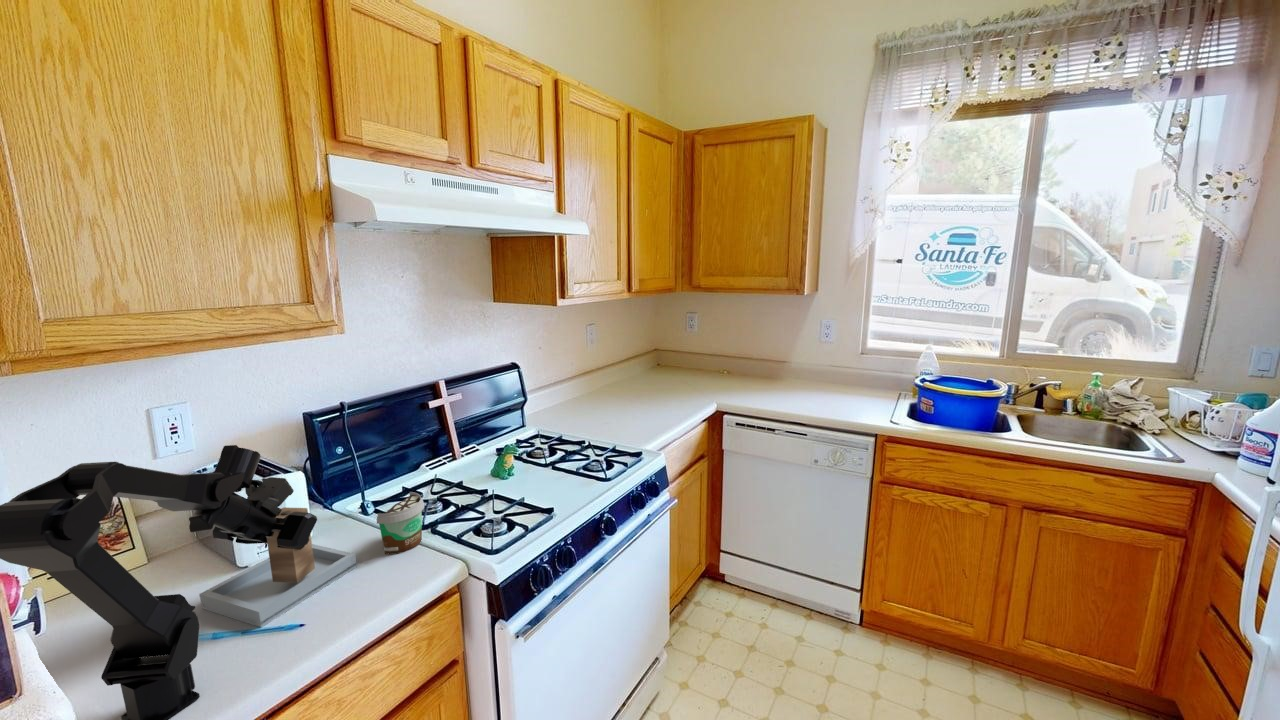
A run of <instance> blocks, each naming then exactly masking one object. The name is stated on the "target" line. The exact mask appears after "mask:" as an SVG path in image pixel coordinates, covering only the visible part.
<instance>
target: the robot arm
mask: <svg viewBox="0 0 1280 720" xmlns="http://www.w3.org/2000/svg"><path fill="white" fill-rule="evenodd" d="M261 457H262V456H261V454H260V452H259V451H255V450H252V449H249V448H245V447H239V446H238V445H237V444H231V445H230V444H229V445H224V446H223V448H222V450H221V453H220V457H219V458H218V461H217V463H216V466H215V469H214V472H206V473H205V472H204V473H190V474H189V473H187V474H186V473H185V474H179V473H173V472H167V471H161V470H155V469H150V468H143V467H138V466H134V465H133V466H132V465H127V464H124V463H120V462H119V461H101V462H84V463H83V462H82V463H79V464H77V465H73V466H71V467H69V468H68V469H66V470H65V471H64V472H62V473H60V475H58V476H57V477H54V478H52V479H49V480H47V481H44V482H43V483H41V484H39V485H36V486H35V487H32V488H30V489H28V490H25V491H23V492H21V493H19V494H18V495H16V496H15V497H13V498H12V499H10V500H9V501H8V502H4V503H2V504H0V560H2V561H5V562H7V563H9V564H13V565H17V566H22V567H26V568H30V569H35V570H40V571H42V572H45V573H47V574H48V575H49V576H50V577H51V578H53V579H54V580H55V581H56V582H57V583H59V584H60V585H61V586H62V587H63V588H65V589H66V590H67V591H69V592H70V593H71V594H72V595H74V596H75V597H76V598H77V599H78V600H79V601H81V602H82V603H83V604H85V605H86V606H87V607H88V608H89V609H91V610H92V612H94V613H96V614H97V615H98V616H99V617H100V618H101V619H103V620H104V621H106V623H108V624H109V625H110V626H112V632H111V636H110V640H109V641H110V644H112V646H113V648H112V651H111V653H110V654H109V657H108V659H107V662H106V665H105V667H104V669H103V671H102V674H101V677H100V678H101V680H102V681H103V682H104V684H105V685H107V686H113V685H120V688H121V693H122V697H123V702H124V707H125V710H126V711H125V712H124V713H123V714H122V715H120V719H121V720H169V719H170V718H172V717H173V716H175V715H176V714H178V713H179V712H181V711H182V710H184V709H185V708H186V707H189V705H192V703H194V702H195V701H197V700H198V699H200V693H199V692H197V691H194V690H195V688H196V684H195V683H196V682H195V678H194V673H193V668H192V667H193V666H192V664H191V662H192V663H193V661H194V660H195V659H196V658H197V656H198V645H199V633H200V632H199V631H200V623H199V619H198V615H197V614H196V612H195V611H194V610H195V609H196V606H195V605H191V604H190V603H189V602H188V600H187V598H186V597H185V596H184V595H182V594H181V593H176V594H175V593H174V594H163V595H153V594H152V593H151V592H150V591H149V590H148V589H147V588H146V587H145V586H144V585H143V584H141V582H139V580H138V579H136V577H135V576H133V575H132V573H131V572H130V571H128V570H127V569H126V568H125V567H124V566H123V565H122V564H121V563H120V562H119V561H118V560H117V559H116V558H115V557H114V556H113V555H111V554H110V553H109V552H108V551H107V549H105V548H104V547H103V546H102V545H101V544H100V543H99V541H98V539H99V535H100V530H101V523H100V521H102V520H103V519H104V518H105V517H106V516H107V515H108V514H110V512H111V510H112V505H113V502H114V501H113V500H114V498H120V499H121V498H125V499H133V500H143V501H152V502H155V503H156V504H157V506H158V507H159V508H162V509H165V510H168V511H171V512H186V511H187V512H189V511H193V515H192V516H190V517H189V518H188V521H189V527H188V528H189V532H190V533H197V532H205V531H211V530H212V529H213V530H212V537H213V539H216V540H218V541H221V542H226V543H227V542H228V543H233V542H234V540H235V543H236V544H244V545H250V544H251V545H252V544H253V545H255V544H267V537H272V536H273V534H274V532H273V531H277V532H279V533H278V534H279V535H278V537H277V545H278V546H277V547H278V548H287V549H297V550H301V549H302V548H303V547H304V546H305V545H307V544H308V542H309V536H310V534H312V532H313V530H314V527H315V525H316V523H317V521H318V517H317V516H316V515H315V514H313V513H311V512H308V513H305V512H293V513H291V514H289V515H288V516H286V517H285V518H276V516H279V514H280V513H281V511H282V508H280V506H281V505H282V504H283V503H284V502H285V501H286V500H287V499H288V498H289V497H290V496H292V494H293V493H294V489H293V487H292V486H291V484H290V483H289V482H288V480H287V479H286V478H284V477H274V476H271V477H267V478H261V480H259V479H253V478H254V476H255V474H256V471H257V468H258V465H259V463H260V460H261ZM243 489H244V491H245V495H247V497H243V496H242V495H240V494H238V493H239V492H242V490H243ZM80 496H83V497H82V498H78V497H80ZM276 523H277V524H276ZM213 527H214V528H213Z"/></svg>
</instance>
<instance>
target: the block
mask: <svg viewBox="0 0 1280 720" xmlns="http://www.w3.org/2000/svg"><path fill="white" fill-rule="evenodd" d="M281 509H282V511H281V513H280V514H279V516H276V518H285V517H286V516H288V515H289V514H291V513H293V512H305V513H309V511H308V507H281ZM276 524H277V523H276ZM273 532H274V534H273V536H272V537H267V543H266V544H267V551H268V556H269V557H268V558H270V565H271V572H272V579H273V582H291V583H298V582H299V581H300V580H301V579H302V578H304V577H305V576H306V575H307V574H309V573H310V572H311V571H312V570H313V569H315V565H314V557H313V550H312V544H313V542H312V536H311V534H312V533H311V534H310V536H309V542H308V544H307V545H305V546H304V547H303V548H302V549H301V550H297V549H287V548H278V547H277V546H278V545H277V537H278V535H279V534H278V533H279V532H277V531H273Z"/></svg>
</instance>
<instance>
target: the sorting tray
mask: <svg viewBox="0 0 1280 720" xmlns="http://www.w3.org/2000/svg"><path fill="white" fill-rule="evenodd" d="M312 550H313V557H314V565H315V569H313V570H312V571H311V572H310V573H309V574H307V575H306V576H305V577H304V578H302V579H301V580H300V581H299V582H298V583H291V582H273V579H272V572H271V565H270V558H269V557H268V558H266V559H264V560H262V561H260V562H258V563H256V564H254V565H252V566H250V567H248V568H246V569H245V570H242V571H240V572H238V573H236V574H235V575H233V576H230V578H227V579H226V580H224V581H221V582H220V583H218V584H215V585H214V586H212V587H210V588H208V589H206V590H204V591H202V592H200V593H199V599H200V604H201V609H203V610H205V611H207V612H208V611H209V612H212V613H215V614H218V615H221V616H225V617H228V618H231V619H233V620H234V619H235V620H237V621H241V622H243V623H246V624H250V625H251V626H252V625H253V626H256V627H259V628H262V627H264V626H266V625H268V624H269V623H271V622H272V621H274V620H275V619H278V617H280V616H282V615H283V614H285V613H286V612H288V611H290V610H291V609H292V608H294V607H296V606H297V605H300V604H301V603H302V602H304V601H306V600H307V599H308V598H310V597H311V596H313V595H314V594H316V593H318V592H319V591H321V590H323V589H324V588H326V587H328V586H329V585H331V584H332V583H333V582H335V581H337V580H338V579H340V578H342V577H343V576H344V575H346V574H347V573H350V572H351V571H353V570H354V569H356V568H357V567H358V566H357V557H356V553H354V552H349V551H345V550H341V549H336V548H331V547H327V546H323V545H318V544H314V543H312Z"/></svg>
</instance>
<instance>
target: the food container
mask: <svg viewBox="0 0 1280 720" xmlns="http://www.w3.org/2000/svg"><path fill="white" fill-rule="evenodd" d="M424 509H425V503H424V499H423V498H422V496H421V495H420V494H419V493H417V492H413V491H409V496H407V497H406V498H405V499H403V500H402V501H399V502H397V503H394V504H393V505H392V507H391V508H390V509H388V510H387V511H386V512H384V513H377V514H376V515H377V516H376V524H378V525H379V530H380V535H381V539H382V545H383V550H384V554H385V555H395V554H396V555H397V554H401V553H406V552H408V551H411V550H412V549H415V548H417V547H418V546H419V545H420V544H421V543H422V541H421V540H423V537H422V536H423V535H422V534H423V533H422V532H423V531H422V528H423V526H422V525H423V523H422V522H423V521H422V519H423V518H422V515H423V514H422V513H423V512H422V511H423V510H424ZM420 542H421V543H420Z"/></svg>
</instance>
